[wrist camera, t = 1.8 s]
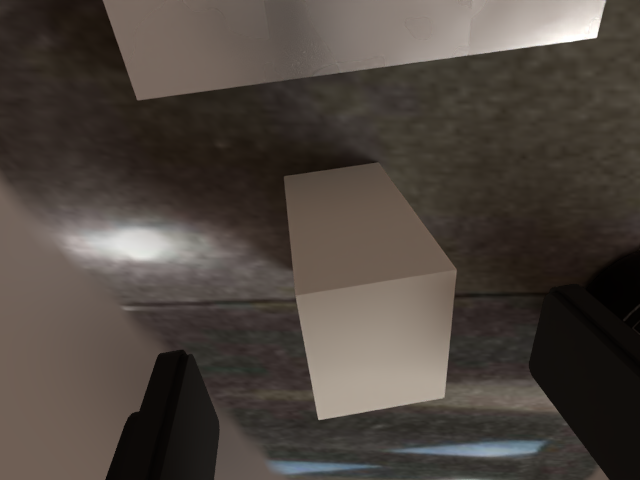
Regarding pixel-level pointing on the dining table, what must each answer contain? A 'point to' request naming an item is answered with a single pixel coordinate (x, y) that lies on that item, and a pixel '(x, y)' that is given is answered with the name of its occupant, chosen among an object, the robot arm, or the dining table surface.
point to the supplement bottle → (621, 290)
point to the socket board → (322, 36)
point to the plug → (367, 291)
